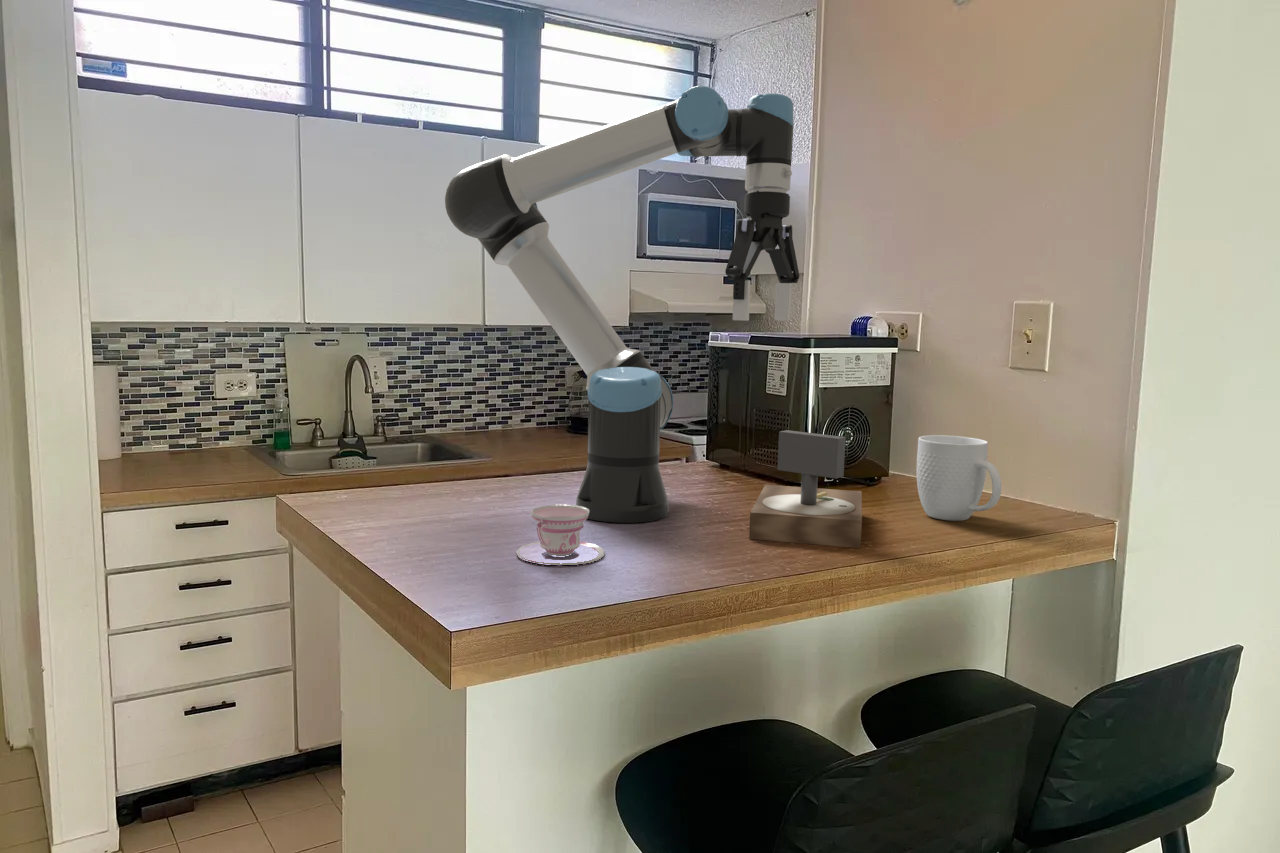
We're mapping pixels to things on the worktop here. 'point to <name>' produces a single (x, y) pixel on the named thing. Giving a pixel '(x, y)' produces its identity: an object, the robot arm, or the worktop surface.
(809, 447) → the peg knob
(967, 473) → the mug
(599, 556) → the teacup
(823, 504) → the tuner board
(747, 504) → the worktop surface
